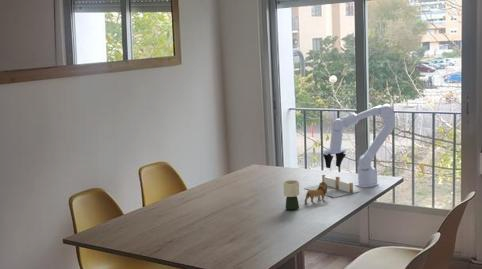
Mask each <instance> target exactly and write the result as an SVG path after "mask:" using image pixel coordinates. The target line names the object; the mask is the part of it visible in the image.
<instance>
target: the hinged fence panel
mask: <svg viewBox="0 0 482 269" xmlns="http://www.w3.org/2000/svg"><path fill="white" fill-rule="evenodd" d="M321 179H322V180H321V182H325V183H326V184H327V185H329V186H332V187H336V178H334V177H333V178H332V177H329V176H326V174H322V175H321Z"/></svg>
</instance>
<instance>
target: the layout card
mask: <svg viewBox="0 0 482 269" xmlns="http://www.w3.org/2000/svg"><path fill="white" fill-rule="evenodd" d="M318 187H319V184H317V185H313V186H308V187H304V188H303V189H304V190H307V191H309V190H316V189H318ZM357 193H360V191H359V190H355V189H353V193H350V192H347V191H344V190H340V189H336V187H332V186H329V185H327V192H326V194H325V195H324V196H326V197H329V198H333V199H336V198H341V197H344V196H349V195H353V194H357Z"/></svg>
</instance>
